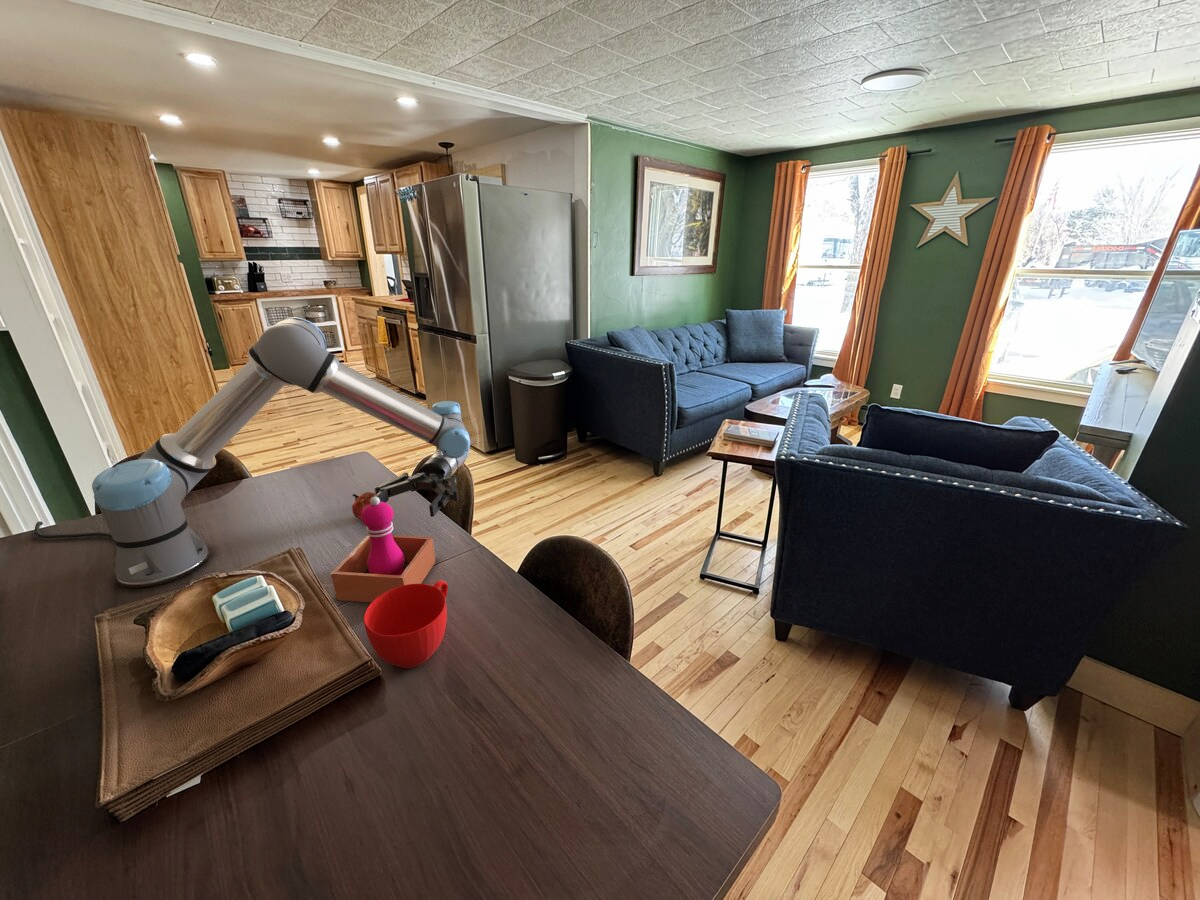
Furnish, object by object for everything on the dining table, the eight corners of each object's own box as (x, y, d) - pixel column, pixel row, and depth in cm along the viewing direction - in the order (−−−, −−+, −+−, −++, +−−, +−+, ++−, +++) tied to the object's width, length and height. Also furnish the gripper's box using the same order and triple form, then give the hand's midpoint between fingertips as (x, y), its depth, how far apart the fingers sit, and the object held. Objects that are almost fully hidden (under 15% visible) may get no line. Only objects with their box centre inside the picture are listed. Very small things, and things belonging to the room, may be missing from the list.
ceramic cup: (477, 622, 91) (473, 579, 87) (419, 693, 76) (411, 645, 72) (421, 606, 94) (415, 564, 91) (355, 670, 79) (344, 624, 76)
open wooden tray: (337, 600, 95) (330, 573, 93) (373, 557, 109) (369, 533, 106) (407, 604, 95) (402, 578, 92) (435, 561, 108) (432, 537, 106)
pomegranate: (390, 518, 129) (364, 493, 130) (396, 505, 124) (370, 479, 125) (367, 534, 123) (340, 507, 124) (373, 520, 119) (345, 492, 119)
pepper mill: (394, 592, 98) (379, 507, 90) (363, 587, 99) (345, 503, 92) (413, 571, 104) (401, 491, 97) (384, 567, 106) (369, 487, 98)
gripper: (390, 455, 125) (344, 492, 105) (483, 459, 123) (454, 497, 104) (394, 480, 127) (350, 521, 108) (485, 485, 126) (457, 527, 107)
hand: (401, 509), depth 106 cm, fingers open, 13 cm apart
